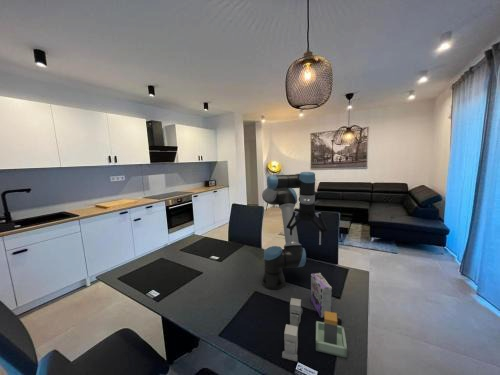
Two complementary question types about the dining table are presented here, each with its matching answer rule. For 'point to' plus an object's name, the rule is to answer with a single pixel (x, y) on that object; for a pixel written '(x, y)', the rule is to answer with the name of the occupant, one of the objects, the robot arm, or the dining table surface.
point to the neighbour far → (296, 306)
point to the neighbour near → (291, 335)
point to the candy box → (320, 294)
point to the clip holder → (290, 346)
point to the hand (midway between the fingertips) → (306, 242)
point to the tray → (327, 347)
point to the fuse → (330, 327)
